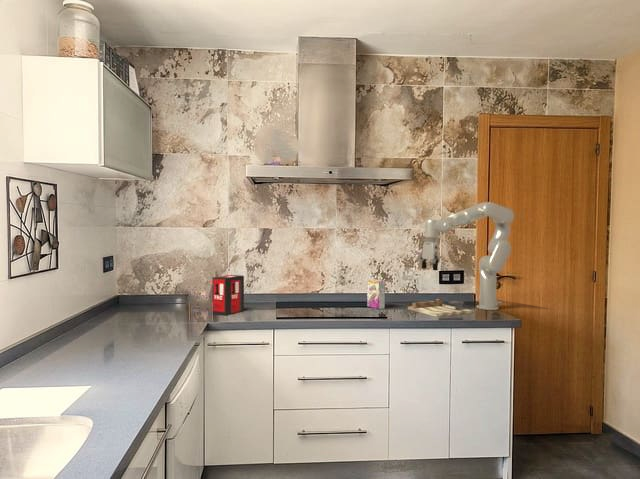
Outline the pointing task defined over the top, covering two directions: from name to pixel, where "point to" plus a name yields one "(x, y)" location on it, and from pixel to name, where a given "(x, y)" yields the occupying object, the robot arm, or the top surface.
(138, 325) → the top surface
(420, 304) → the walnut link
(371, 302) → the candy bar box
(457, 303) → the block
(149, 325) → the top surface
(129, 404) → the top surface
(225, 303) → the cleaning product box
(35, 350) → the top surface
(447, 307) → the birch board
